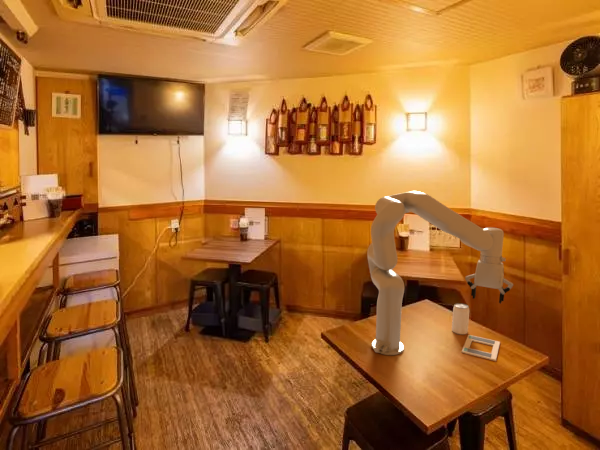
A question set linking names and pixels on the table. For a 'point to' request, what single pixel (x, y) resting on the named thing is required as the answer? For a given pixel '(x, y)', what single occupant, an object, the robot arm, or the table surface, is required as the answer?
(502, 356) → the table surface
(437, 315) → the table surface
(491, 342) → the label board
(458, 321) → the can
